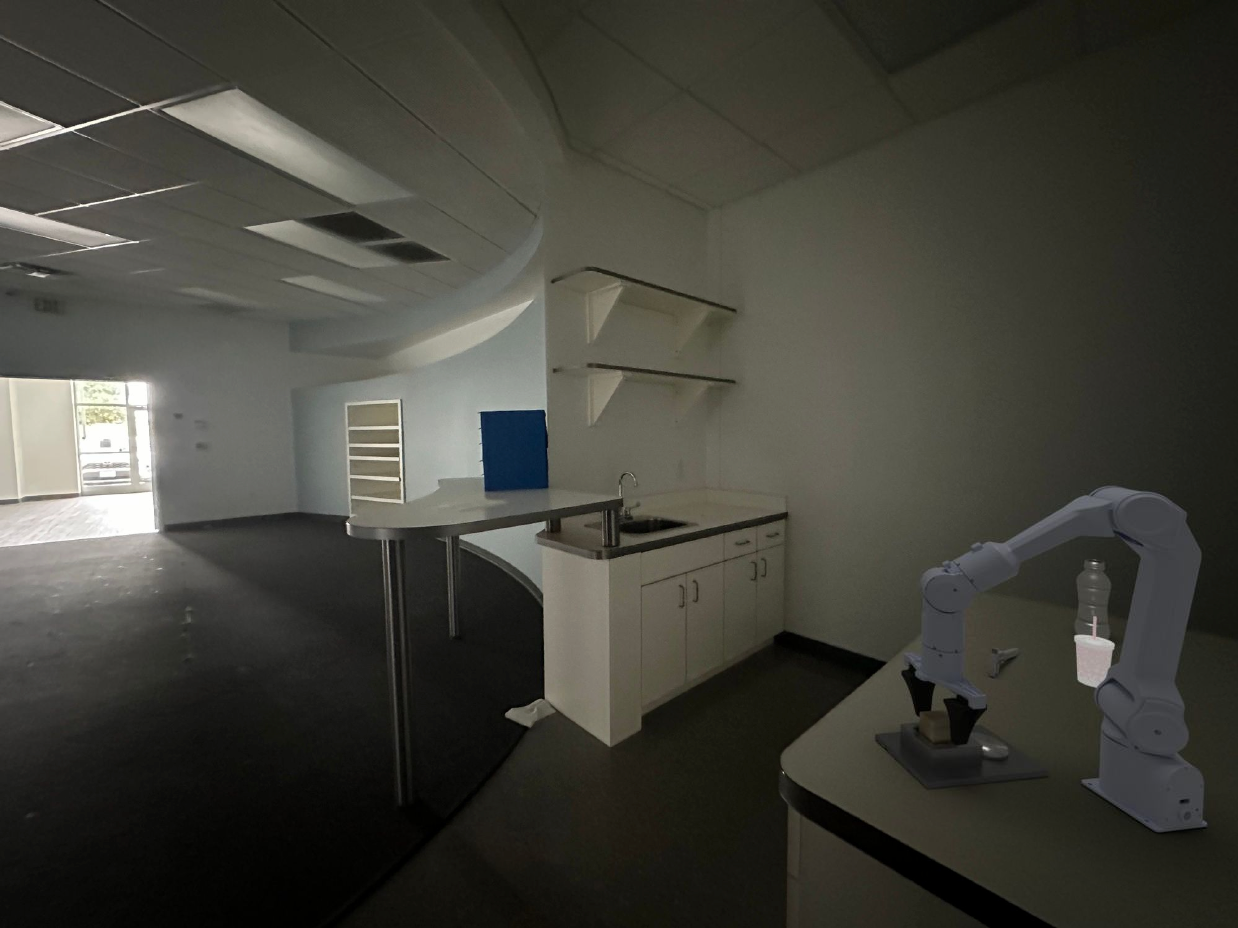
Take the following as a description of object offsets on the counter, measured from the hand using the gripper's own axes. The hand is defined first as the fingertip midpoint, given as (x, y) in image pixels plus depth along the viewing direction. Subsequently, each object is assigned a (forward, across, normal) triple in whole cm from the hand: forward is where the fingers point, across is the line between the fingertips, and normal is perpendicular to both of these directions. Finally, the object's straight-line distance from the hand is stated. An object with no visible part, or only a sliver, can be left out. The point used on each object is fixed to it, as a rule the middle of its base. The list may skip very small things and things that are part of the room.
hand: (940, 728), depth 79 cm
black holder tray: (+5, 0, +3) cm, 6 cm away
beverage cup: (+5, -18, +50) cm, 53 cm away
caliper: (+5, -28, +40) cm, 49 cm away
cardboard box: (+4, 0, 0) cm, 4 cm away
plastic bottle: (+5, -37, +73) cm, 82 cm away
